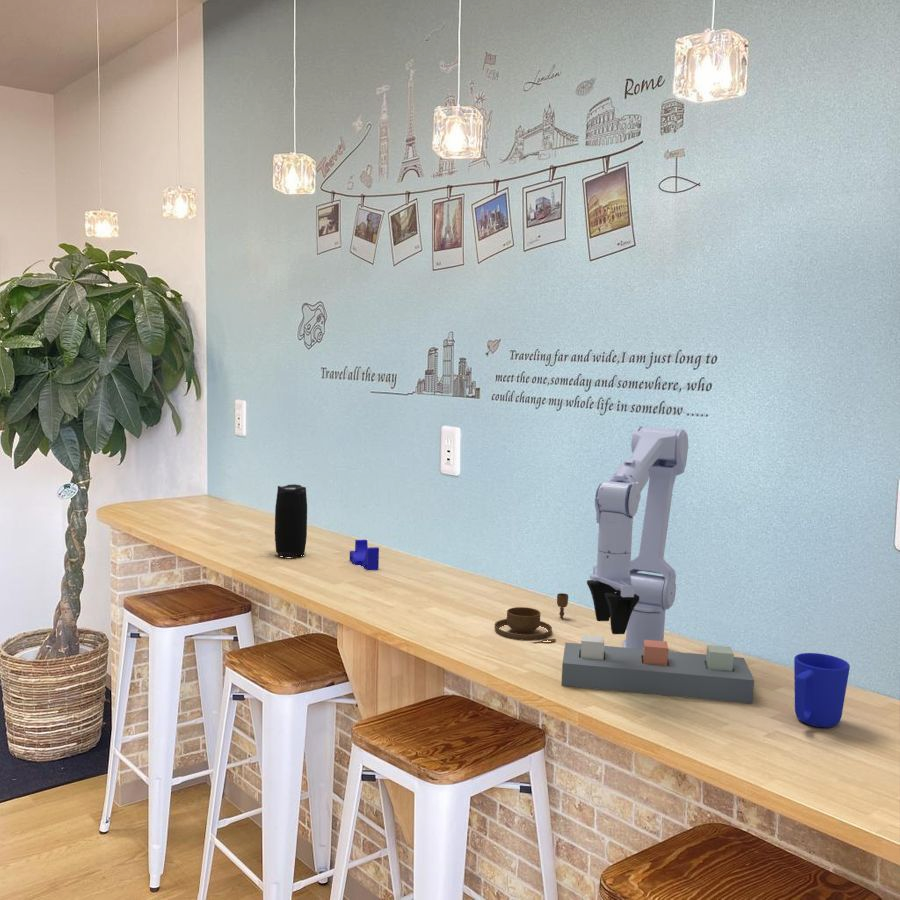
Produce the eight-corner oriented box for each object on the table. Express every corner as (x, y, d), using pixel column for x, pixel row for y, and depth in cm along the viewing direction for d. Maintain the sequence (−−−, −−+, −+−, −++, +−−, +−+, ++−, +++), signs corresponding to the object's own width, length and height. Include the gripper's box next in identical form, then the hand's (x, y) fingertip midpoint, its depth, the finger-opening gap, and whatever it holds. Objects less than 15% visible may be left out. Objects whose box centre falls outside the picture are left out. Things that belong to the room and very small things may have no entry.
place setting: (480, 623, 195) (481, 597, 194) (563, 618, 202) (564, 592, 201) (513, 649, 179) (514, 620, 178) (602, 641, 186) (604, 613, 185)
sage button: (705, 666, 161) (707, 644, 161) (729, 668, 160) (730, 646, 160) (708, 674, 157) (709, 651, 157) (732, 676, 156) (733, 653, 156)
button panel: (564, 663, 169) (565, 642, 169) (742, 679, 164) (743, 657, 164) (561, 685, 158) (562, 663, 157) (752, 703, 152) (754, 680, 152)
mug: (769, 726, 143) (774, 664, 142) (803, 707, 151) (807, 649, 150) (821, 743, 137) (826, 678, 136) (853, 722, 145) (858, 662, 144)
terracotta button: (642, 661, 163) (643, 639, 162) (665, 663, 162) (666, 641, 162) (643, 668, 159) (644, 646, 158) (666, 670, 158) (668, 648, 158)
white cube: (580, 655, 165) (582, 634, 164) (603, 657, 164) (604, 636, 164) (580, 662, 161) (581, 640, 160) (603, 664, 160) (604, 642, 160)
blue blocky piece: (349, 561, 248) (350, 540, 248) (365, 560, 250) (365, 539, 249) (361, 571, 237) (362, 549, 237) (378, 570, 239) (379, 548, 238)
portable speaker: (271, 558, 248) (272, 487, 246) (279, 551, 257) (280, 483, 255) (302, 560, 247) (303, 489, 245) (309, 552, 257) (310, 484, 255)
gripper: (578, 542, 163) (575, 615, 165) (607, 560, 149) (603, 640, 150) (615, 541, 164) (612, 614, 166) (647, 559, 150) (643, 639, 152)
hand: (610, 627), depth 158 cm, fingers open, 7 cm apart
